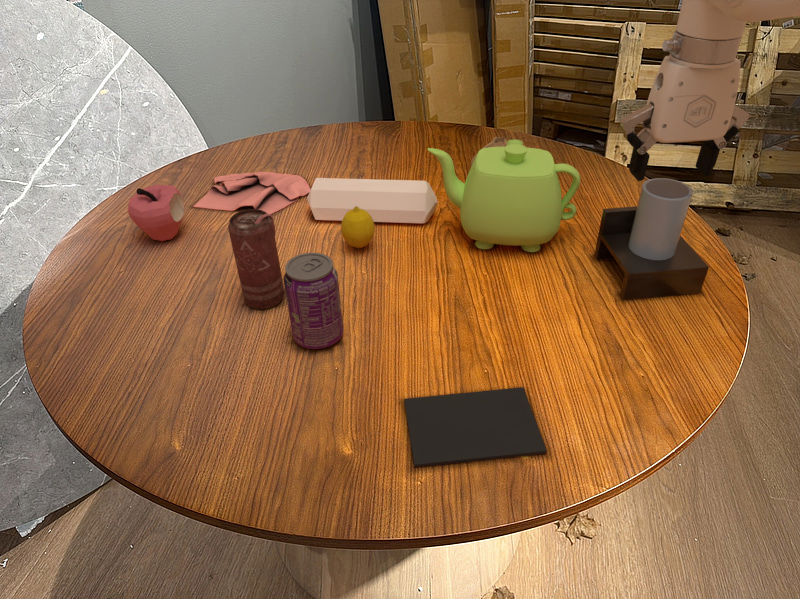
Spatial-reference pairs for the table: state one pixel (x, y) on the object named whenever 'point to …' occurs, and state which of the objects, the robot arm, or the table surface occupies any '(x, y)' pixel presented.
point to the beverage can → (313, 300)
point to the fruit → (357, 227)
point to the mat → (472, 427)
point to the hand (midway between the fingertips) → (669, 174)
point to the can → (256, 258)
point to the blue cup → (659, 218)
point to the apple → (157, 211)
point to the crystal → (373, 199)
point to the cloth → (254, 192)
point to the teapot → (510, 195)
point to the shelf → (647, 261)
